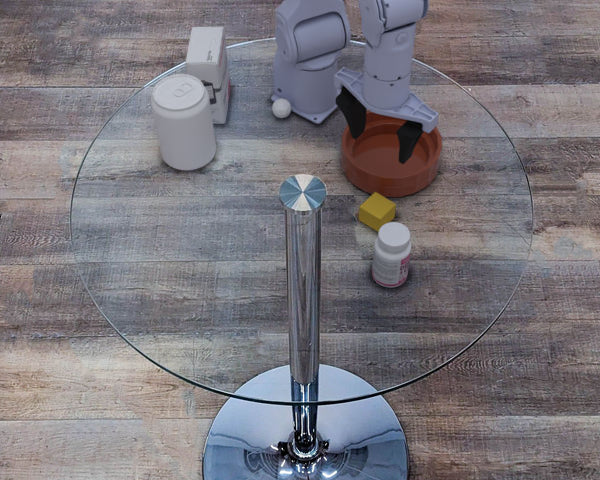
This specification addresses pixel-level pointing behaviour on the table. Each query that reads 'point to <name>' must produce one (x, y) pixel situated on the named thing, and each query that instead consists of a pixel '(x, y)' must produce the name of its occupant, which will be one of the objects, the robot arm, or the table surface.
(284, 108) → the white ball
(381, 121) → the bowl
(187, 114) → the beverage can
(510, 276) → the table surface
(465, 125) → the table surface
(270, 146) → the table surface
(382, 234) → the pill bottle
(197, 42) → the ink box
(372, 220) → the cube
